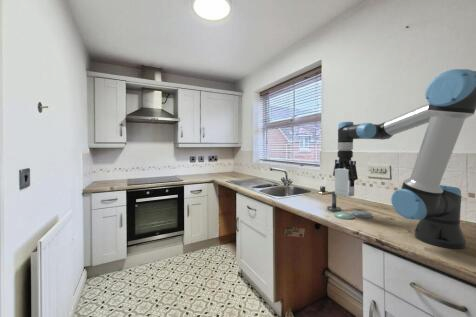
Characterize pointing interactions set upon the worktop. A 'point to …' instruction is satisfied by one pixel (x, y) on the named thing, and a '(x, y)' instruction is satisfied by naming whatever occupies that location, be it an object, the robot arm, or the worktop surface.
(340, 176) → the skincare box
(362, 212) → the dish grey
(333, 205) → the post
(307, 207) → the worktop surface
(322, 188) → the balance beam
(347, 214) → the dish green
